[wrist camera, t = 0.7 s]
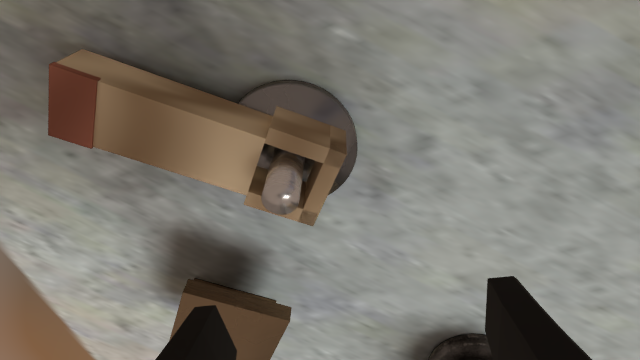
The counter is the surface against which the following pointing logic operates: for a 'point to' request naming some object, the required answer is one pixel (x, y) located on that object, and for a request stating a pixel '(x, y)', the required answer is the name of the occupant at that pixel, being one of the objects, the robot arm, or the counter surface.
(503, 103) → the counter surface
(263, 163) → the pintle base
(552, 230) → the counter surface
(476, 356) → the dark grey tall piece
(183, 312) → the keeper
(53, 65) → the link
